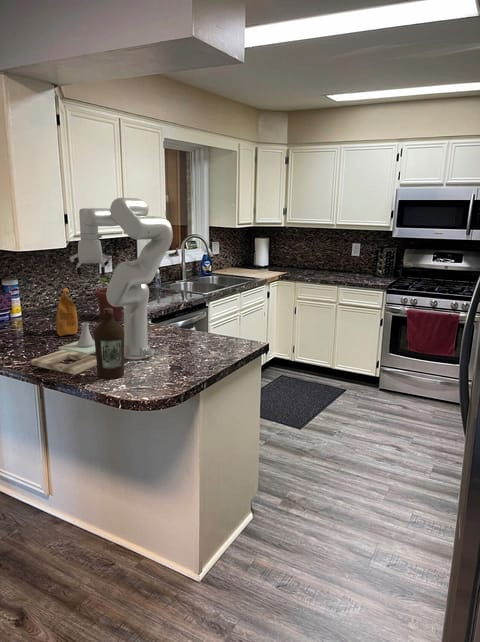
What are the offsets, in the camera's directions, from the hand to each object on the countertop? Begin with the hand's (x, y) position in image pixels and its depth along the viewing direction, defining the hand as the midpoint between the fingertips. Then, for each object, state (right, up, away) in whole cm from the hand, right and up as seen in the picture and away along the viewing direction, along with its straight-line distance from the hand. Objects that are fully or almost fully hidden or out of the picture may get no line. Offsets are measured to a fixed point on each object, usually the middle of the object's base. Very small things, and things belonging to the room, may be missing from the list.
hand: (91, 276), depth 206 cm
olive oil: (+19, -40, -36) cm, 57 cm away
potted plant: (-4, -20, +49) cm, 53 cm away
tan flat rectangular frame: (-1, -37, -25) cm, 44 cm away
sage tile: (-1, -32, -3) cm, 32 cm away
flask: (-1, -31, -3) cm, 31 cm away
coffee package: (-18, -26, +20) cm, 37 cm away
